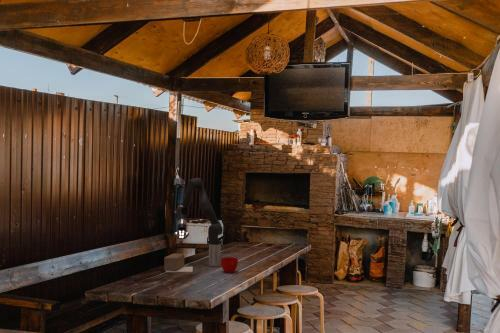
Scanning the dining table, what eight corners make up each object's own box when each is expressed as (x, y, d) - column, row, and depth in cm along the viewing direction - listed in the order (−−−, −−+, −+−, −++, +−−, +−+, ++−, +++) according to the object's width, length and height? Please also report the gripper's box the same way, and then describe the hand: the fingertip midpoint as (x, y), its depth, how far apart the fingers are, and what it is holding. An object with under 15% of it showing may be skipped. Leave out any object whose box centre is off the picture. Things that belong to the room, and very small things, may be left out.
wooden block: (184, 266, 401) (176, 271, 382) (172, 265, 403) (163, 270, 384) (184, 253, 402) (176, 257, 382) (172, 253, 403) (163, 257, 384)
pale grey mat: (193, 267, 401) (193, 266, 401) (192, 272, 382) (192, 271, 382) (167, 267, 399) (167, 266, 399) (165, 272, 380) (165, 271, 380)
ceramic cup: (223, 274, 374) (224, 261, 374) (219, 270, 390) (219, 257, 390) (240, 274, 377) (241, 260, 377) (235, 270, 394) (235, 257, 394)
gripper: (174, 222, 423) (172, 239, 411) (190, 223, 425) (189, 239, 412) (174, 228, 429) (173, 245, 416) (190, 228, 430) (189, 245, 418)
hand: (181, 242), depth 414 cm, fingers closed
